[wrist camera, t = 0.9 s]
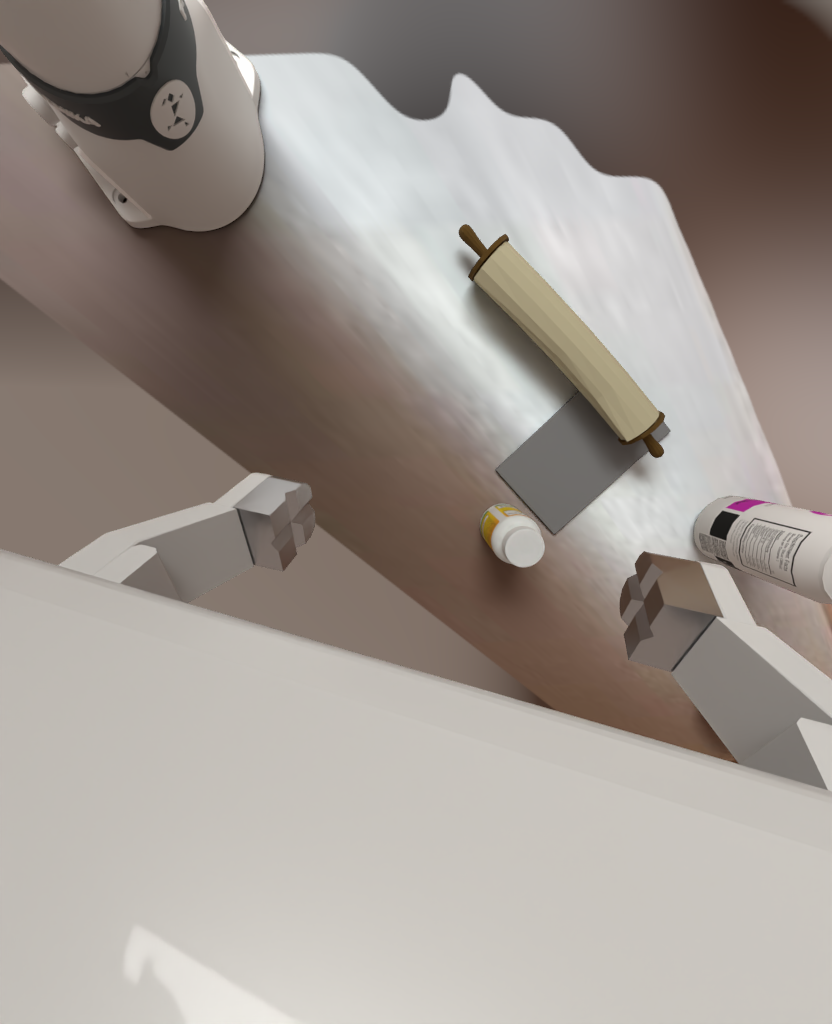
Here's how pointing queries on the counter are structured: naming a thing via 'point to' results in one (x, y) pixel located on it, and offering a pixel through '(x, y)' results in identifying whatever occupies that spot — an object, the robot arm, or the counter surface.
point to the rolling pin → (565, 340)
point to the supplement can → (770, 543)
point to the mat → (570, 462)
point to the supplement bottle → (512, 535)
